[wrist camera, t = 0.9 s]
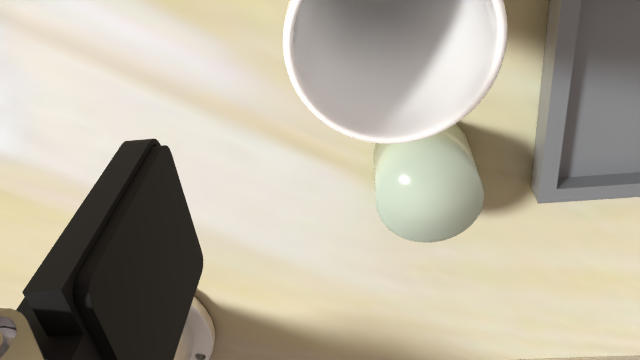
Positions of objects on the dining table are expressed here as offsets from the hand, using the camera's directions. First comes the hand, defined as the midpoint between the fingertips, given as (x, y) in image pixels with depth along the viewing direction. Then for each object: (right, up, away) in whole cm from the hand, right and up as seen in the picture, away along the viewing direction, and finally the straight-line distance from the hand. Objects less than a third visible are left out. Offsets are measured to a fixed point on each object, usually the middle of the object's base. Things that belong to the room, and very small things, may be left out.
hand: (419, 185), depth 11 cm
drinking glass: (+1, +12, +19) cm, 23 cm away
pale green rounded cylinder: (+5, +2, +26) cm, 26 cm away
